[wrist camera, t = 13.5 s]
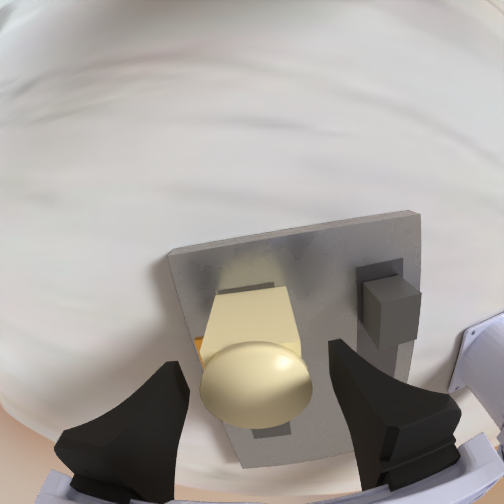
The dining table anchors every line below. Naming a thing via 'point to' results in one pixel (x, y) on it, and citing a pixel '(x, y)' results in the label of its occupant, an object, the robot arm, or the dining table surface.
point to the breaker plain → (391, 311)
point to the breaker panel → (306, 311)
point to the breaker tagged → (272, 431)
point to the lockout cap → (254, 360)
